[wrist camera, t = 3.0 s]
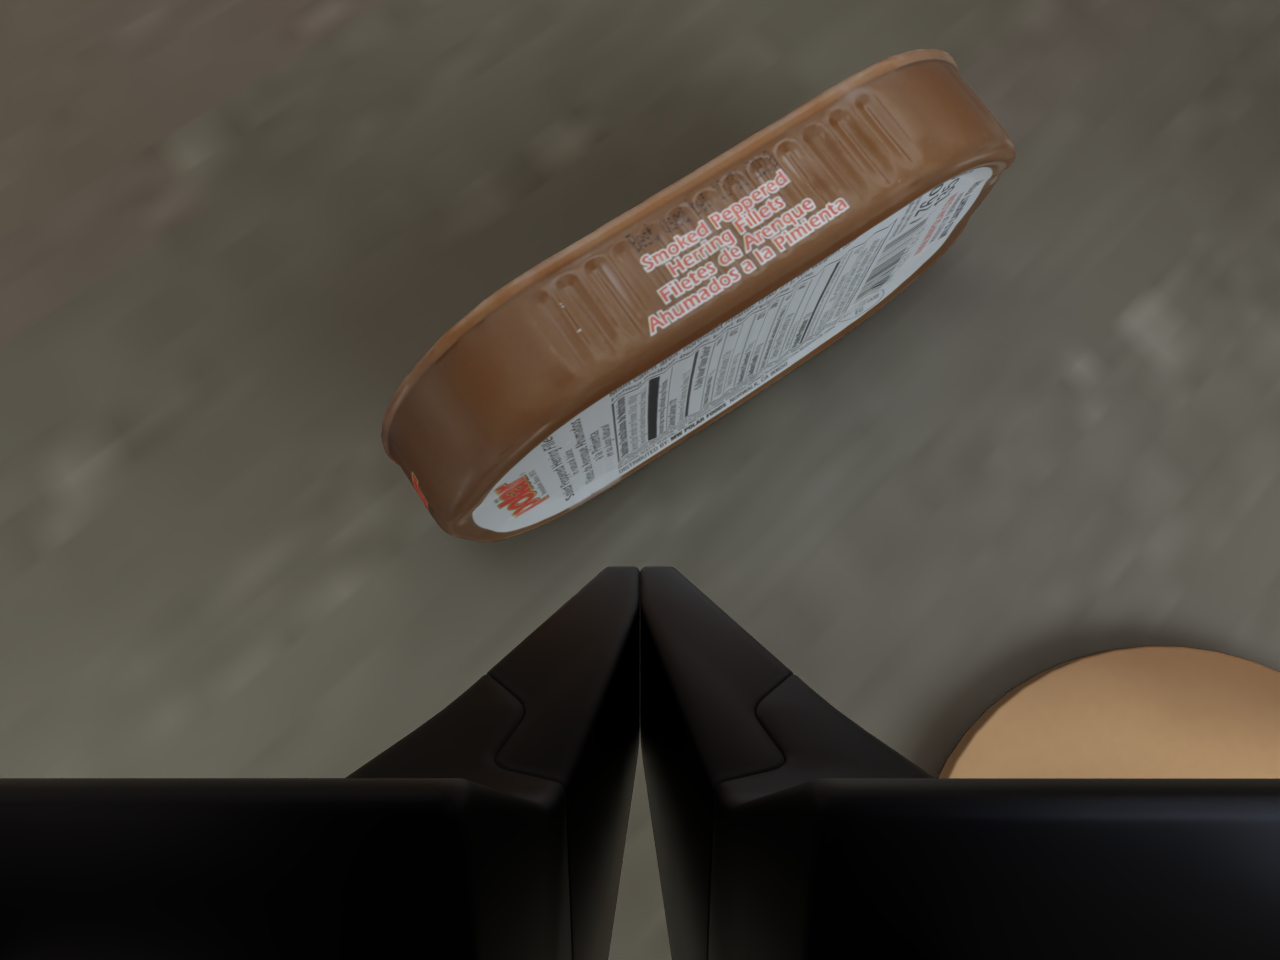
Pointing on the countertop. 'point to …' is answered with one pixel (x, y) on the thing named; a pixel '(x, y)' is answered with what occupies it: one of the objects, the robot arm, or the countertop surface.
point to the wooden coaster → (1131, 720)
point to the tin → (693, 299)
